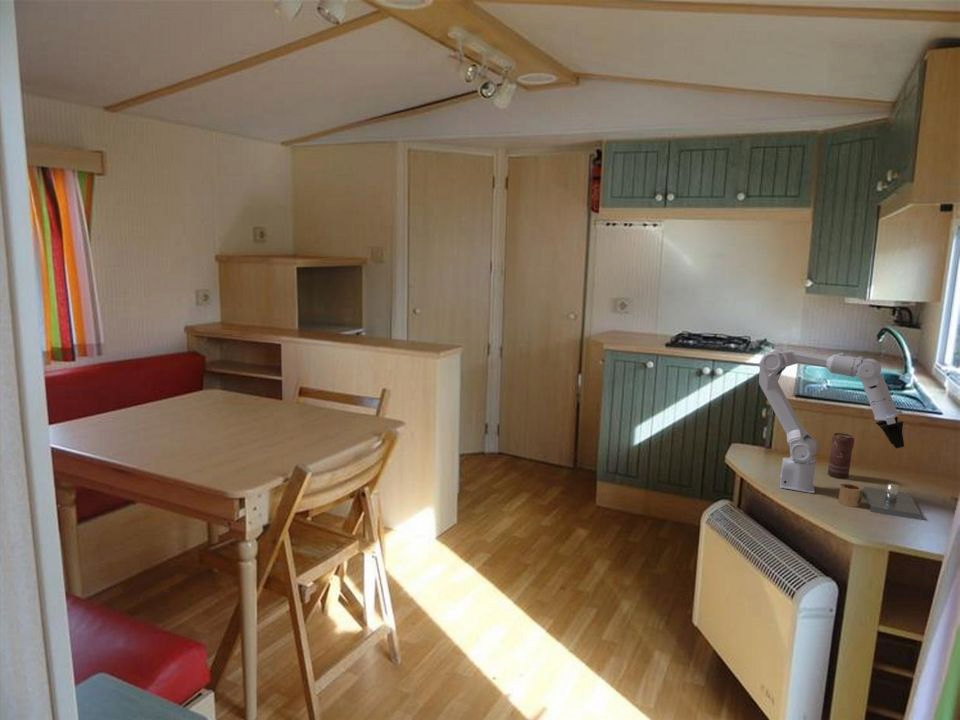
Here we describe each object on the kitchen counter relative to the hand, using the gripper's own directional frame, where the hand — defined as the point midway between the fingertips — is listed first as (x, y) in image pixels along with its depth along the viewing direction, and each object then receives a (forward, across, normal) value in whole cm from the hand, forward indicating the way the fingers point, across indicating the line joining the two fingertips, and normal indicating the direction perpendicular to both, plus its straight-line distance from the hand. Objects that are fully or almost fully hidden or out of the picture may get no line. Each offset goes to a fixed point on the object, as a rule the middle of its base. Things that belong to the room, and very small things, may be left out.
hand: (897, 445), depth 185 cm
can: (+10, +26, +17) cm, 33 cm away
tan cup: (+13, 0, +17) cm, 21 cm away
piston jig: (+17, +6, +7) cm, 19 cm away
